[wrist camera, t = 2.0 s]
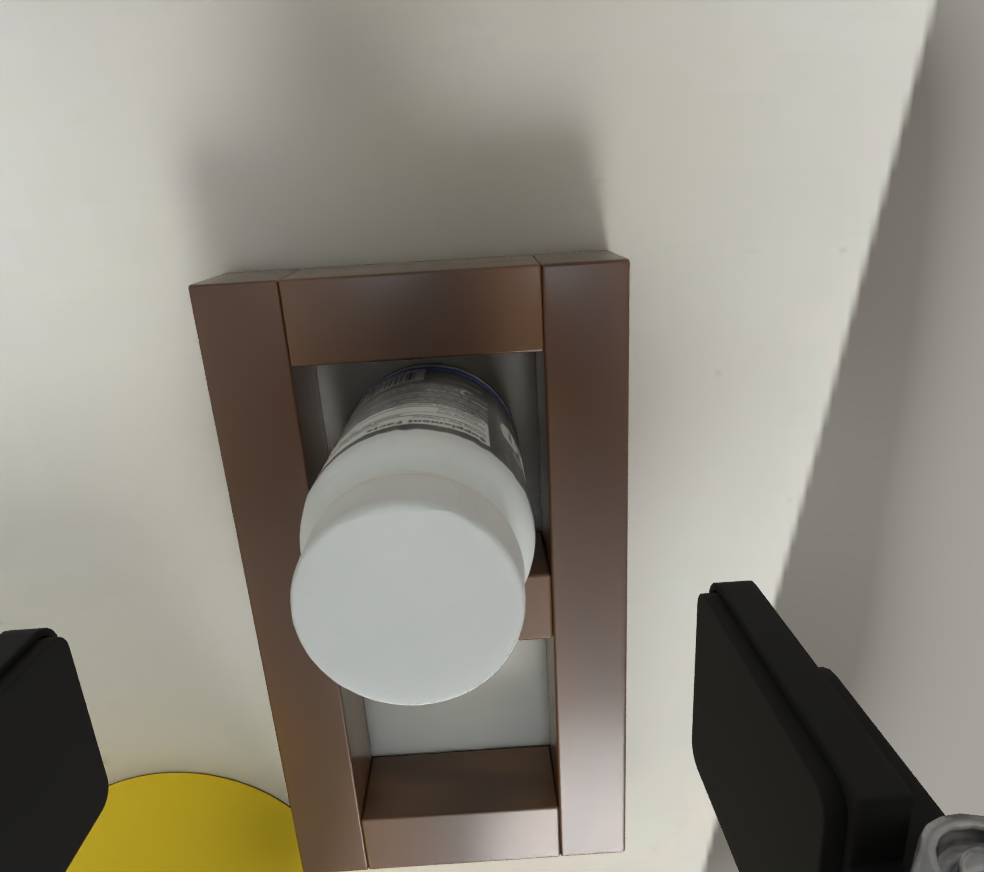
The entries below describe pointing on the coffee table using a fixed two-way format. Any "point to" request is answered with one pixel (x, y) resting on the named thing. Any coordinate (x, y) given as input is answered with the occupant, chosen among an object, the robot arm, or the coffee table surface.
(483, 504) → the pill bottle
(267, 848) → the yellow toilet paper roll
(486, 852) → the holder
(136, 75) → the coffee table surface
